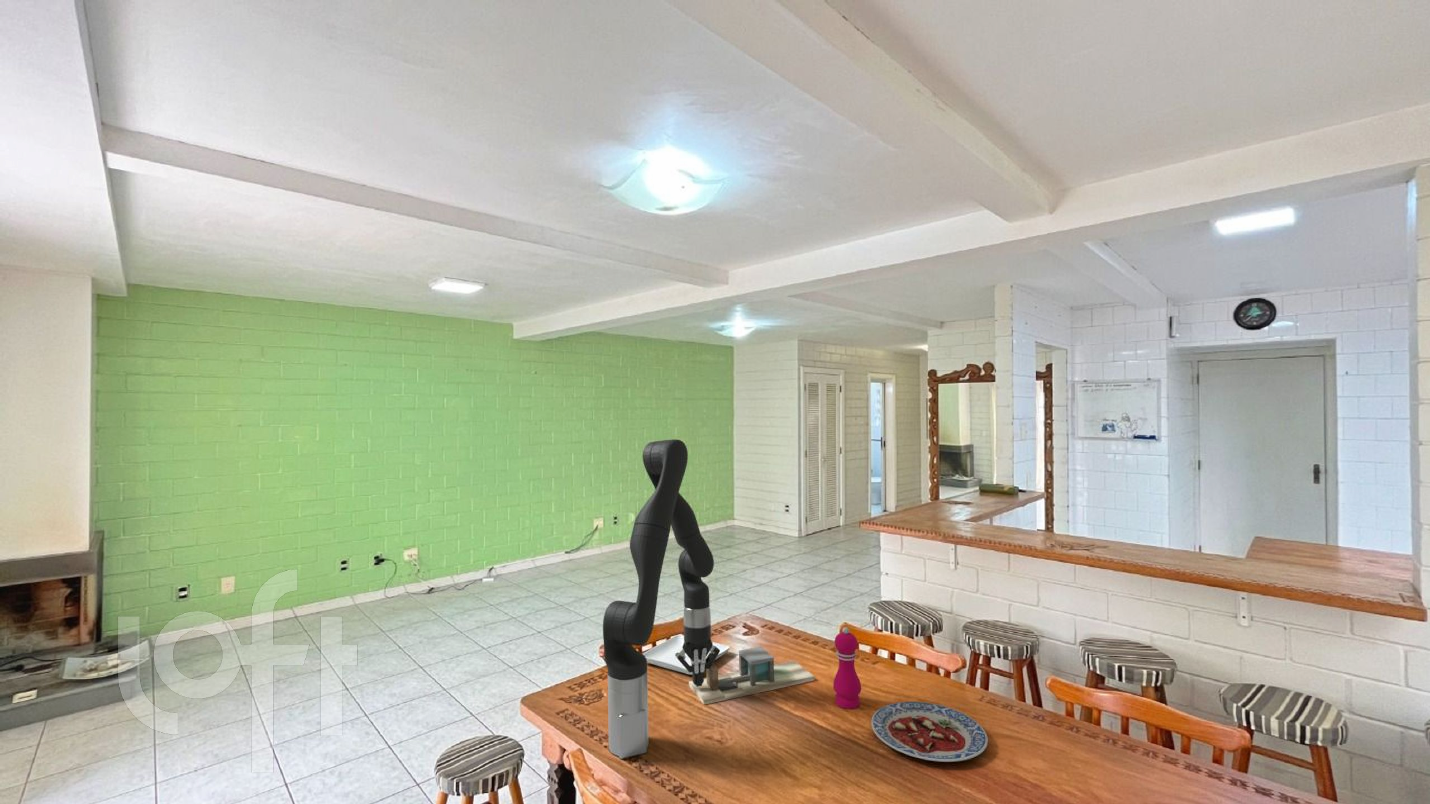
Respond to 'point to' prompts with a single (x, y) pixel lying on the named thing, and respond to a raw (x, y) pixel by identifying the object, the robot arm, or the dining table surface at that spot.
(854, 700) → the pepper mill
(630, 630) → the robot arm
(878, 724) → the ceramic plate
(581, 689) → the dining table surface
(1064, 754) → the dining table surface
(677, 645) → the salad plate
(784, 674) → the deck tunnel
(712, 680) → the sled
